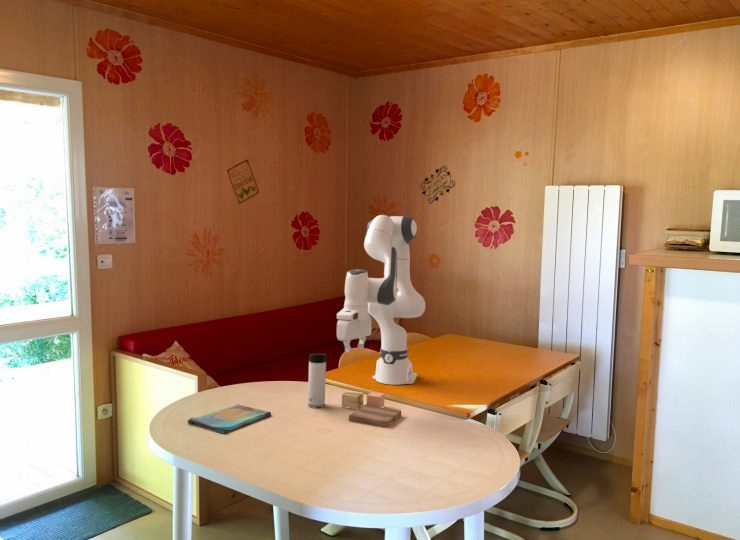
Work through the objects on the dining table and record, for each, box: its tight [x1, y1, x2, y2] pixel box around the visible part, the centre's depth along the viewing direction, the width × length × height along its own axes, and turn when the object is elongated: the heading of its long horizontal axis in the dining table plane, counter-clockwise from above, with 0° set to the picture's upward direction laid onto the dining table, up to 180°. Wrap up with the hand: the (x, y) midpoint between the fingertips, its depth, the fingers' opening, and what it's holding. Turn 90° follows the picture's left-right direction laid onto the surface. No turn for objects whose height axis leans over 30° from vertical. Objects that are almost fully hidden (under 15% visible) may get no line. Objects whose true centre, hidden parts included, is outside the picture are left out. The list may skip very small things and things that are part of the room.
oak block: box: [341, 390, 364, 410], centre depth 221 cm, size 6×6×5 cm
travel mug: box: [307, 352, 327, 408], centre depth 220 cm, size 6×7×20 cm
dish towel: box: [187, 403, 272, 435], centre depth 202 cm, size 17×23×2 cm
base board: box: [348, 404, 402, 428], centre depth 208 cm, size 14×14×2 cm
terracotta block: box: [366, 391, 386, 407], centre depth 221 cm, size 5×5×5 cm
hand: (354, 350), depth 220 cm, fingers open, 8 cm apart
